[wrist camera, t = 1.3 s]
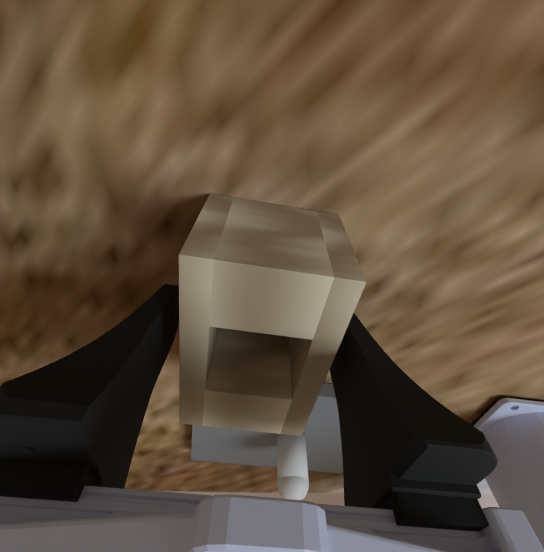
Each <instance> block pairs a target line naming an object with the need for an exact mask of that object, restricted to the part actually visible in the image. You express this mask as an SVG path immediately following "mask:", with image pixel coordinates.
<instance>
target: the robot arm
mask: <svg viewBox="0 0 544 552" xmlns="http://www.w3.org/2000/svg"><path fill="white" fill-rule="evenodd" d="M178 324H179V286H176V285H168V284H165V285H163V286H162V287H161V288H160V289H159V290H158V291H157V292H156V293H155V294H154V295H153V296H152V297H150V298H149V299H148V300H147V301H146V302H145V303H144V304H143V305H141V306H140V307H139V308H138V309H137V310H136V311H134V312H133V313H132V314H131V315H130V316H128V317H127V318H126V319H124V320H123V321H122V322H121V323H119V324H118V325H117V326H115V327H114V328H112V329H111V330H110V331H108V332H107V333H105V334H104V335H102V336H101V337H99V338H98V339H96V340H94V341H93V342H91V343H89V344H88V345H86V346H84V347H82V348H80V349H79V350H77V351H75V352H73V353H71V354H70V355H68V356H66V357H64V358H62V359H59V360H57V361H55V362H53V363H51V364H49V365H47V366H44V367H42V368H40V369H38V370H35V371H33V372H30V373H28V374H25V375H23V376H20V377H18V378H15V379H13V380H10V381H7V382H5V383H3V384H2V385H1V386H0V552H544V402H539V401H530V400H522V399H513V398H503V399H500V400H499V401H498V402H497V403H496V404H495V405H494V406H493V407H492V408H491V409H490V410H489V411H488V412H487V413H486V414H485V415H484V416H483V417H482V418H481V419H480V420H479V421H478V422H477V423H476V424H475V425H474V426H472V425H470V424H469V423H467V422H466V421H464V420H463V419H461V418H460V417H458V416H457V415H455V414H454V413H453V412H451V411H450V410H448V409H447V408H446V407H444V406H443V405H442V404H440V403H439V402H438V401H436V400H435V399H434V398H433V397H431V396H430V395H429V394H428V393H426V392H425V391H424V390H423V389H422V388H421V387H419V386H418V385H417V384H416V383H415V382H414V381H413V380H411V379H410V378H409V377H408V376H407V375H406V374H405V373H404V372H403V371H402V370H401V369H400V368H399V367H398V366H397V365H396V364H395V363H394V362H393V361H392V360H391V358H390V357H389V356H388V355H387V354H386V353H385V352H384V351H383V349H382V348H381V347H380V346H379V345H378V343H377V342H376V341H375V340H374V339H373V337H372V336H371V335H370V333H369V332H368V331H367V330H366V328H365V327H364V326H363V324H362V323H361V322H360V320H359V319H358V318H357V316H356V315H355V314H354V313H353V315H352V318H351V320H350V322H349V325H348V327H347V329H346V332H345V334H344V336H343V339H342V341H341V343H340V346H339V348H338V351H337V353H336V355H335V358H334V360H333V362H332V365H331V367H330V373H331V378H332V382H333V387H334V392H335V397H336V402H337V407H338V413H339V423H340V433H341V445H342V458H343V475H344V501H345V506H337V505H325V504H315V503H313V502H307V501H303V500H292V499H279V498H266V497H255V496H241V495H214V496H210V495H197V494H185V493H172V492H159V491H146V490H134V489H124V486H125V482H126V479H127V475H128V471H129V467H130V464H131V460H132V457H133V453H134V449H135V446H136V442H137V439H138V435H139V432H140V429H141V425H142V422H143V419H144V416H145V412H146V409H147V406H148V403H149V400H150V396H151V393H152V391H153V388H154V386H155V383H156V381H157V378H158V376H159V374H160V371H161V369H162V367H163V364H164V362H165V360H166V358H167V355H168V353H169V351H170V348H171V346H172V343H173V341H174V338H175V335H176V331H177V328H178ZM484 478H485V479H486V481H487V483H488V485H489V487H490V489H491V491H492V493H493V495H494V497H495V499H496V501H497V503H498V505H499V507H500V508H498V507H488V508H483V509H482V508H481V506H480V504H479V502H478V500H477V499H479V498H480V497H481V493H480V491H479V489H478V487H477V485H476V484H478V483H479V482H480V481H482V480H483V479H484Z"/></svg>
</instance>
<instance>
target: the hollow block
mask: <svg viewBox="0 0 544 552" xmlns="http://www.w3.org/2000/svg"><path fill="white" fill-rule="evenodd" d="M365 284H366V279H365V277H364V275H363V272H362V270H361V267H360V265H359V262H358V260H357V258H356V255H355V253H354V250H353V248H352V245H351V243H350V240H349V238H348V236H347V233H346V231H345V228H344V226H343V223H342V221H341V219H340V216H339V215H337V214H331V213H325V212H319V211H313V210H307V209H301V208H295V207H289V206H283V205H277V204H270V203H264V202H258V201H252V200H246V199H240V198H234V197H228V196H222V195H216V194H210V195H209V197H208V198H207V200H206V202H205V204H204V206H203V208H202V210H201V212H200V214H199V216H198V218H197V220H196V222H195V224H194V226H193V228H192V230H191V232H190V234H189V236H188V237H187V239H186V241H185V243H184V245H183V247H182V249H181V251H180V253H179V350H180V424H189V425H199V426H209V427H219V428H228V429H238V430H248V431H258V432H268V433H278V434H287V435H297V436H301V435H302V433H303V431H304V428H305V426H306V424H307V421H308V419H309V417H310V414H311V412H312V409H313V407H314V405H315V402H316V400H317V398H318V395H319V393H320V391H321V388H322V386H323V384H324V381H325V379H326V376H327V374H328V372H329V369H330V367H331V365H332V362H333V360H334V358H335V355H336V353H337V351H338V348H339V346H340V343H341V341H342V339H343V336H344V334H345V332H346V329H347V327H348V325H349V322H350V320H351V318H352V315H353V313H354V310H355V308H356V306H357V303H358V301H359V299H360V296H361V294H362V292H363V289H364V287H365Z"/></svg>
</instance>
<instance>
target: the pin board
mask: <svg viewBox="0 0 544 552" xmlns="http://www.w3.org/2000/svg"><path fill="white" fill-rule="evenodd" d="M191 460H197V461H208V462H219V463H230V464H241V465H252V466H262V467H273V468H277V487H278V491H279V493H280V495H281V496H282V497H283V498H284V499H292V500H302V499H303V498H304V497H305V496H306V494H307V492H308V488H309V479H308V471H317V472H328V473H339V474H343V458H342V445H341V433H340V423H339V413H338V407H337V402H336V397H335V392H334V387H333V384H328V383H324V384H323V386H322V388H321V391H320V393H319V395H318V398H317V400H316V402H315V405H314V407H313V409H312V412H311V414H310V417H309V419H308V421H307V424H306V426H305V428H304V431H303V433H302V435H301V436H297V435H287V434H278V433H268V432H258V431H248V430H238V429H228V428H219V427H209V426H199V425H192V451H191Z"/></svg>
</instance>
